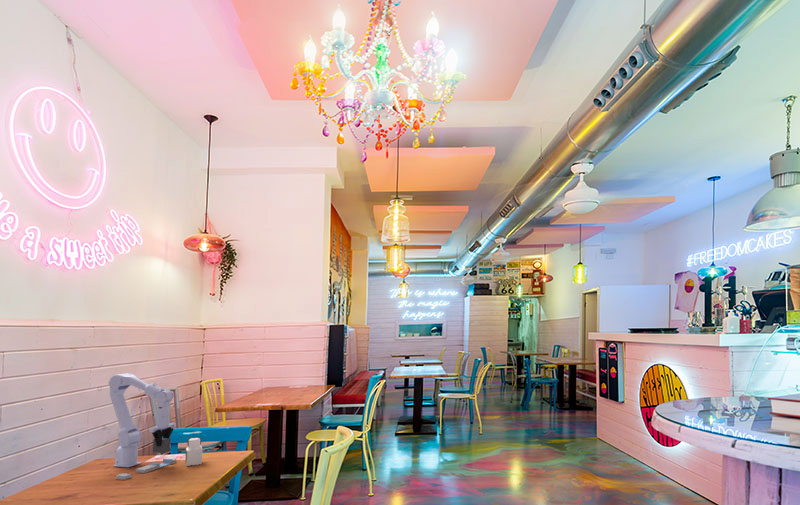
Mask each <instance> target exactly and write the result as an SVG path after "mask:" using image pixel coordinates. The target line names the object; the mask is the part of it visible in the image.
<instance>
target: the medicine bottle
mask: <svg viewBox="0 0 800 505" xmlns="http://www.w3.org/2000/svg"><path fill="white" fill-rule="evenodd" d="M199 464H200V465H203V447H202V438H201V437H198V436H194V437H190V438H188V439H187V447H186V448H185V467H189V466H190V467H191V465H192V466H198V465H199ZM200 465H199V466H200Z"/></svg>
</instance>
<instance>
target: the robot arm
mask: <svg viewBox="0 0 800 505" xmlns="http://www.w3.org/2000/svg"><path fill="white" fill-rule="evenodd" d="M107 383H108V386H109V398H110V400H111V403H112V406H113V409H114V412H115V415H116V418H117V422H118V425H119V427H120V428H119V431H118V432H117V436H118V440H117V442H118V444H119V446H118V447H117V449H116V451H115V462H114V465H113V467H116V468H117V467H118V468H119V467H120V468H121V467H122V468H130V467H133V466H137V465H140V464H142V461H141V462H140V461H138V455H139V445H140V442H141V441H142V439H143V433H142V431H141V430H140V429H139V427H138V425H136V424H134V422H133V420H132V417H131V414H130V411H129V408H128V404H127V402H126V398H125V396H124V394H125V392H126V390H127V389H128V388H129V387H130V386H133V387H135V388H137V389H139V390H142V391H144V394H145V395H146V396H148V397H150V398H152V399H154V400H155V402H156V406H157V409H156V410H157V411H156V425H155V426H152V427H149V430H148V431H149V433H151V434H152V436H153V439H155V441H156V446H161V443H162V438H170V437H171V435H172V433H173V432H174V428H176V426H177V423H176V422H170V421H171V401H172V400H173V398H174V392H173V391H172V390H171V389H165V388H164V387H160V386H158V385H157V383H147V382H145V381H144V380H142V379H140V378H138V377H137V376H136V375H135V374H132V373H130V372H126V373H120V374H117V373H116V374H113V375H112V376H111V377H110V379H109V381H108V382H107Z"/></svg>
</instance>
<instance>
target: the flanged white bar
mask: <svg viewBox="0 0 800 505" xmlns="http://www.w3.org/2000/svg"><path fill="white" fill-rule="evenodd" d="M176 463H177V458H162V463H160V462H150V464H148V465H145V466H144V465H143V466H142V467H138V468H136V469H135V473H137V474H146V473H149V472H152V471H156V470H158V469H162V468H164V467H167V466H170V465H172V464H176ZM163 466H164V467H163ZM131 478H132V473H120V474H116V476H115V480H122V481H126V480H129V479H131Z"/></svg>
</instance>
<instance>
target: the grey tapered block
mask: <svg viewBox="0 0 800 505" xmlns="http://www.w3.org/2000/svg"><path fill="white" fill-rule="evenodd" d="M169 452H171V438H163V437H162V443H161V446H156V441H155V438H153V439H152V453H157V454H158V453H159V454H166V453H169Z"/></svg>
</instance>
